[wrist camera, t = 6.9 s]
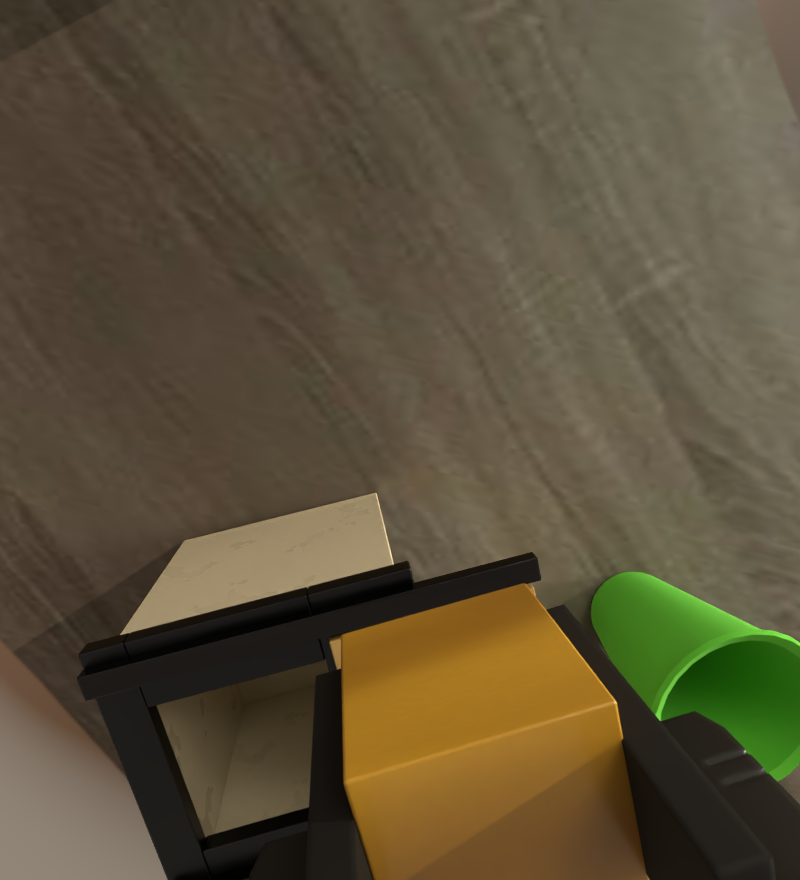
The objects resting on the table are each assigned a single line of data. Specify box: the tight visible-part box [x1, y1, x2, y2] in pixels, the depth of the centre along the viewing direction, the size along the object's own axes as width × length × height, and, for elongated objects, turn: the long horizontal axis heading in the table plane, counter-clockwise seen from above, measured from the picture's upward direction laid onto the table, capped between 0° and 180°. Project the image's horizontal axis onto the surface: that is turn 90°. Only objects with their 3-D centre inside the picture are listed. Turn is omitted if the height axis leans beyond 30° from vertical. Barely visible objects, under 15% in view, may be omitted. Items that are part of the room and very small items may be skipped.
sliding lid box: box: [77, 493, 541, 880], centre depth 29 cm, size 13×18×13 cm
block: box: [341, 583, 650, 880], centre depth 12 cm, size 4×4×4 cm
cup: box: [591, 572, 800, 782], centre depth 32 cm, size 9×9×11 cm
